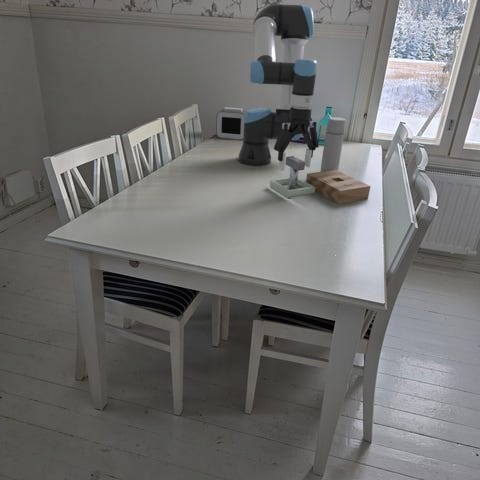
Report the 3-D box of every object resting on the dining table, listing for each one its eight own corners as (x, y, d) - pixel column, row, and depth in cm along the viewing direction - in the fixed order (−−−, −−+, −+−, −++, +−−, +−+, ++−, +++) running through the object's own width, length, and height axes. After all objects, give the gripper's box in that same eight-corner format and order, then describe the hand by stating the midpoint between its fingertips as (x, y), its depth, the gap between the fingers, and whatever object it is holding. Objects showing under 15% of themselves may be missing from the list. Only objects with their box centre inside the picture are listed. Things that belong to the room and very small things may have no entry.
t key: (294, 193, 157) (298, 162, 151) (282, 186, 163) (286, 156, 157) (301, 192, 158) (305, 161, 153) (289, 185, 164) (292, 156, 159)
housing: (305, 188, 165) (307, 173, 162) (333, 184, 171) (335, 169, 168) (337, 206, 149) (340, 190, 146) (367, 201, 155) (370, 185, 152)
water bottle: (337, 183, 171) (347, 121, 160) (318, 181, 173) (326, 119, 161) (337, 176, 179) (347, 117, 168) (318, 174, 181) (327, 115, 169)
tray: (269, 187, 163) (270, 179, 162) (295, 184, 168) (296, 176, 167) (288, 199, 153) (288, 191, 152) (314, 195, 158) (315, 187, 157)
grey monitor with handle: (215, 137, 230) (216, 108, 223) (220, 133, 240) (220, 105, 233) (245, 140, 228) (246, 111, 221) (248, 135, 238) (249, 107, 231)
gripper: (278, 110, 138) (273, 174, 149) (334, 107, 149) (325, 167, 159) (267, 106, 144) (262, 168, 154) (321, 104, 154) (313, 162, 164)
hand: (294, 167), depth 156 cm, fingers open, 11 cm apart
